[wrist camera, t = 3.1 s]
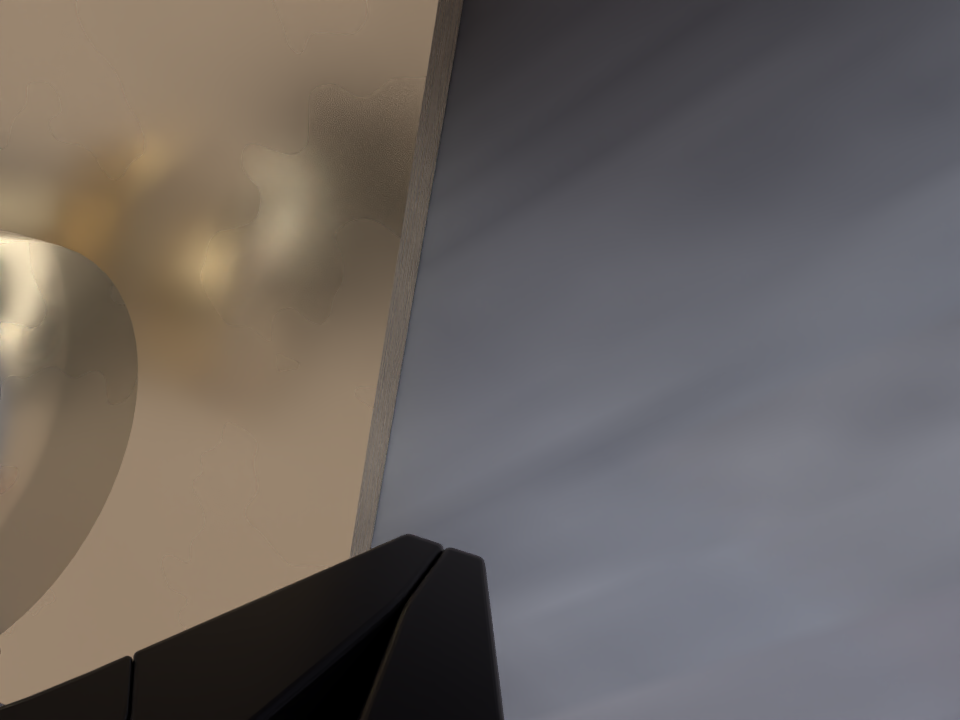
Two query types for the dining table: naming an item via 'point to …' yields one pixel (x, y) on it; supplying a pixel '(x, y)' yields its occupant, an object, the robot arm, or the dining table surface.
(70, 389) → the shaft
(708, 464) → the dining table surface
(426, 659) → the robot arm
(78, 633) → the bearing block
